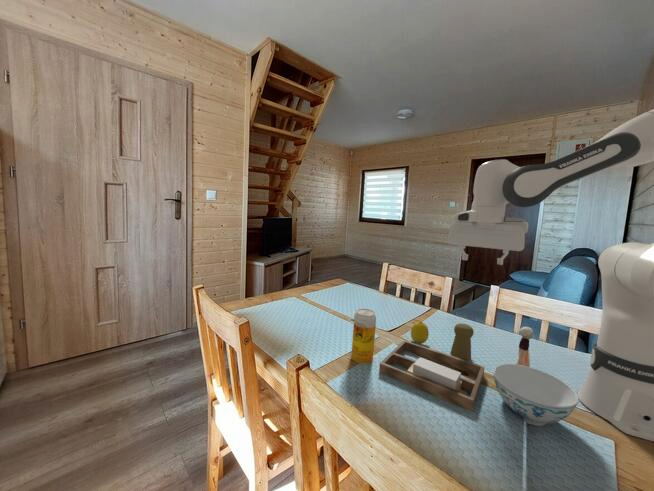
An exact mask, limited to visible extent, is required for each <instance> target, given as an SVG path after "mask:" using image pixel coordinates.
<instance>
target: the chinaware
mask: <svg viewBox="0 0 654 491" xmlns="http://www.w3.org/2000/svg"><path fill="white" fill-rule="evenodd" d="M493 379H494V383H495V387H496V390H497V392H498V395H499V396H500V397H501V400H502V401H503V402H504V403H505V404H506V405H507V406H508V408H509V409H511V410H512V411H513V412H515V413H516V414H517V415H519V416H521V417H523V420H522V421H523V422H524V423H526V424H529V425H531V426H535V427H536V426H537V427H542V426H545V425H546V424H553V423H557V422H560V421H562V420H565V419H567V418H568V417H569V416H570V415H571V414H572V413H573V412H574V411H575V409H576V408H577V406H578V404H579V401H580V399H579V398H578V395H577V394H578V393H576V391H575V390H574V389H573V388H572V387H571V386H569V385H568V384H567V383H566V382H565V381H563V380H561V379H559V378H558V377H555V376H554V375H552V374H550V373H547V372H545V371H543V370H541V369H537V368H534V367H531V366H530V367H527V366H523V365H517V363H516V364H515V363H513V364H512V363H503V364H500V365H497V366H496V367H495V368H494V370H493Z"/></svg>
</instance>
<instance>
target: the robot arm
mask: <svg viewBox="0 0 654 491" xmlns="http://www.w3.org/2000/svg"><path fill="white" fill-rule="evenodd" d="M652 162H654V108H653V109H650V110H649V111H646V112H643V113H642V114H640V115H637V116H635V117H634V118H632V119H629V120H628V121H626V122H624V123H622V124H621V125H619V126H617V127H616V128H614V129H612V130H611V131H610V132H608V133H606V134H605V135H604V136H602V137H601V138H600V139H598V140H597V141H595V142H593V143H592V144H589V145H587V146H585V147H582V148H581V149H580V148H579V149H578V150H575V151H573V152H571V153H569V154H566V155H564V156H562V157H559V158H557V159H555V160H553V161H550V162H547V163H539V164H537V163H536V164H528V165H523V166H518V165H516V164H514V163H512V162H511V161H509V160H508V159H505V158H501V159H500V158H499V159H494V160H489V161H486V162H484V163H482V164H481V165H479V166H478V168H477V170H476V172H475V173H476V174H475V176H474V182H473V189H472V192H473V193H472V194H473V199H472V200H473V201H472V203H471V209H470V210H467V211H463V212H460V213H455V214H454V216H453V220H454V222H452V223H451V224H450V227H449V230H448V231H449V232H448V233H447V234H448V236H447V242H448V244H449V245H455V246H458V250H459V252H460V254H461V261H468V260H469V254H468V253H466V252H465V250H464V249H466V247H475V248H484V249H485V248H486V249H494V250H502V254H503V255H502V256H501V257H497V258H496V265H500V266H503V265H504V260H505V258H506V257H507V256H508V255H509V253H510V251H515V252H521V251H522V252H523V250H524V249H525V243H526V242H525V241H526V240H525V235H526V234H527V233H528V232H529V226H530V225H529V223H528V221H527V220H525V219H524V218H521V217H505V216H506V214H505V213H506V209H507V208H506V207H507V204H511V205H513V206H516V207H520V208H529V207H534V206H536V205H538V204H540V203H542V202H543V201H545V200H547V198H548V197H549V196H550V195H552V194H553V192H555V191H556V190H557V189H559V188H561V187H564V186H565V185H567V184H571V183H573V182H575V181H577V180H580V179H582V178H584V177H588V176H590V175H593V174H595V173H598V172H602V171H604V170H605V171H606V170H609V169H615V168H616V169H617V168H618V169H619V168H620V169H629V168H633V167H638V166H641V165H642V166H643V165H645V164H648V163H649V164H650V163H652ZM597 264H598V269H599V271H600V275H601V276H600V278H601V296H602V297H601V298H602V299H601V301H602V314H601V321H600V327H599V332H598V337H597V342H595V343H594V345H593V348H592V350H591V353H590V354H591V355H590V361H589V362H590V368H589V372H588V374H587V377H586V379H585V381H584V382H583V384H582V386H581V388H580V389H579V390H578V392H577V393H576V394H577V396H578V399H579V401H580V402H581V403H582V405H584V406H585V407H586V408H588V409H589V410H590V411H592V412H593V413H595V414H596V415H598V416H600V417H602V418H603V419H605V420H607V421H608V422H610V423H611V424H612V425H613V426H615V427H616V428H617V429H618V430H620V431H621V432H623V433H625V434H627V435H629V436H633V437H636V438H639V439H644V440H647V441H650V442H654V242H652V243H650V244H649V243H643V242H638V241H637V242H635V241H633V242H623V243H619V244H614V245H612V246H611V245H610V246H609V247H607V248H605V250H603V251H602V252H601V254H600V255H599V258H598V261H597Z"/></svg>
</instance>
